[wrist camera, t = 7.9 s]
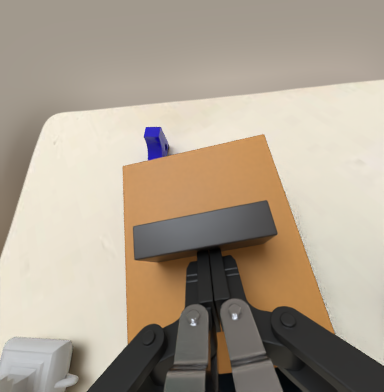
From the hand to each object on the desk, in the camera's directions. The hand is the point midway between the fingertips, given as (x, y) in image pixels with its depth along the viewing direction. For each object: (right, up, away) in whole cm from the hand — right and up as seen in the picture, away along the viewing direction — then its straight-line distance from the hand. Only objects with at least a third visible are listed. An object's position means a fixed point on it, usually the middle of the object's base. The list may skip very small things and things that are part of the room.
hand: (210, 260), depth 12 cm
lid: (0, 0, +3) cm, 3 cm away
